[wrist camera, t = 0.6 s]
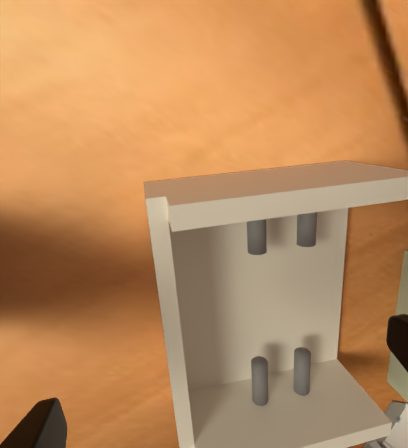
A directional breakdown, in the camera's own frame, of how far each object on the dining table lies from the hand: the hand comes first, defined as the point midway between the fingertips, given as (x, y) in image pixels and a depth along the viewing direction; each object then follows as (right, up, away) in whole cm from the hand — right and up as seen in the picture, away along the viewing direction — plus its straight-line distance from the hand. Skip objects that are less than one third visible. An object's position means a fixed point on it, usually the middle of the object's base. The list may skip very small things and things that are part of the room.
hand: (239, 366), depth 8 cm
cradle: (+3, -1, +16) cm, 16 cm away
